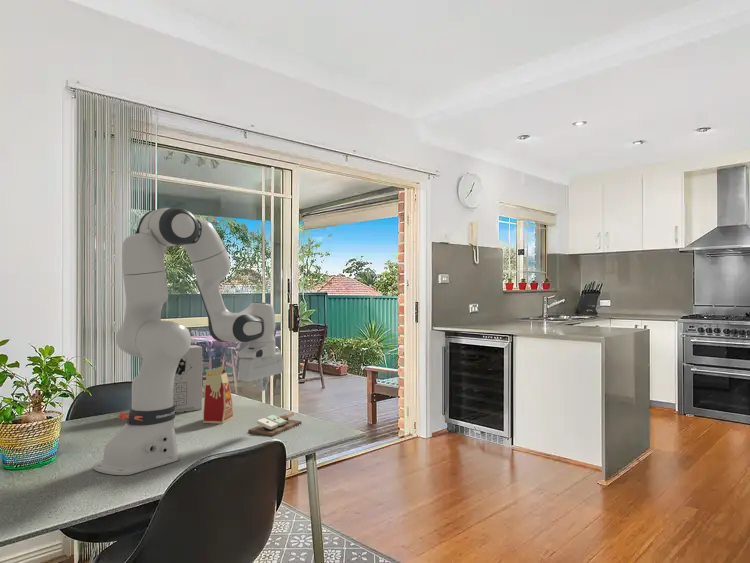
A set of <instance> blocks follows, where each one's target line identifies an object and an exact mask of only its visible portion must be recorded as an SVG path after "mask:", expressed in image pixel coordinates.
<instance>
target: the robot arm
mask: <svg viewBox="0 0 750 563" xmlns="http://www.w3.org/2000/svg"><path fill="white" fill-rule="evenodd" d="M175 246H181V247H182V248H183V249H184V251H185V252H186V254H187V256H188V259H189V261H190V262H191V265H192V267H193V271H194V273H195V276H196V284H197V289H198V291H199V295H200V297H201V301H202V303H203V306H204V309H205V312H206V315H207V320H208V321H207V324H208V331H209V334H210V336H211V337H212V339H213V340H215V341H216V342H219V343H226V342H227V343H228V342H230V343H239V344H240V343H243V344H244V343H248V345H246V346H245V347H244V348H242V349H241V350H240V351H239V352H238V357H239V358H240V359H239V363H238V379H239V380H240V382H245V383H249V382H253V381H254V383H255V384H256V386H257V392H264V391H268V384H269V382H270V377H272V376H275V375H279V374H282V373H283V371H284V361H283V360H284V359H283V355H282V351H281V348H279V347H278V346H276V336H275V331H276V314H275V309H274V306H273V305H272V304H270V303H268V302H260V301H253V302H251V303H250V304H249V306H247V307H246V308H245V309H242V310H241V311H238V312H231V311H229V310H228V309H227V307H226V305H225V302H224V299H223V296H222V293H221V290H220V285H221V282H222V281H223V280H224V279H225V278H226V277H227V276H228V275H229V272H230V270H231V268H232V267H231V266H232V265H231V261H230V256H229V254H228V251H227V249H226V247H225V245H224V242H223V241H222V239H221V237H220V235H219V233H218V231H217V230H216V229H215V226H213V224H212V223H211V222H210V221H208V220H205V219H198V218H197V217H195V215H194V214H193V213H192V212H191V211H189V210H187V209H185V208H182V207H161V208H157V209H153V210H150V211H148V212H146V213H145V214H144V215H143V216H142V217H141V218H140V220H139V222H138V225H137V228H136V231H135V233H134V234H130V235H129V236H127V237H126V238H125V239H124V241H123V242H122V248H121V249H122V251H121V267H122V276H123V284H124V292H125V293H124V294H125V313H124V316H123V317H124V318H123V323H122V324H121V326H120V328H119V329H118V331H117V333H116V344H117V346H118V348H119V349H120V350H121V351H122V352H124V353H125V354H128V355H129V356H132V357H136V358H141V357H143V362H142V366H141V369H140V368H139V372H138V374H137V375H136V376H135V377H134V378H133V379H132V381H131V407H130V409H129V412H123V411H121V412H119V414H118V416H117V417H118V419H119V420H123V421H125V424H124V425H123V426H122V428H121V429H119V431H118V432H116V434H115V435H113V437H112V438H111V439H110V440H109V441H108V442H107V443H106V444H105V447H104V451H103V458H102V459H103V460H100V461H97V462H95V463H94V464H93V469H94V470H95V471H97V472H99V473H103V474H106V475H107V474H108V475H115V476H129V475H130V476H131V475H134V474H137V473H140V472H143V471H147V470H151V469H154V468H158V467H160V466H164V465H167V464H170V463H174V462H177V461H179V459H180V458H179V455H180V450H179V448H178V443H177V437H176V429H175V421H174V420H175V418H176V413H175V405H174V404H173V398H174V378H175V373H176V370H177V367H178V364H179V362H180V360H181V358H182V357H183V356H184V355H185V354H186V353H187V352H188V350H189V348H190V346H192V345H191V344H192V337H191V332H190V330H189V329H188V328H187V327H186V326H184V325H182V324H180V323H178V322H174V321H172V320H171V321H170V320H162V318H161V316H162V309H163V306H164V304H165V303H166V302H167V300H168V298H169V290H168V282H167V280H168V279H167V272H166V265H165V261H164V258H165V252H166V250H167V247H175Z"/></svg>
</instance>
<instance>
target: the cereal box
mask: <svg viewBox="0 0 750 563" xmlns="http://www.w3.org/2000/svg"><path fill="white" fill-rule="evenodd" d="M139 358H140V362H139V363H140V364H139V365H140V368H139V370H140V369H141V366H142V362H143V357H139ZM173 404H174V405H175V412H179V413H184V411H187V412H192V411H201V410H202V409H203V346H199V345H194V344H193V345H190V348H189V350H188V352H187V353H186V354H185V355H184V356H183V357H182V358H181V360H180V362H179V364H178V367H177V370H176V373H175V378H174V398H173Z"/></svg>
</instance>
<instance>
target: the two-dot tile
mask: <svg viewBox="0 0 750 563" xmlns="http://www.w3.org/2000/svg"><path fill="white" fill-rule="evenodd" d="M265 418H266V419H268V420H270V421H273V422H275V423H277V424H278V426H281V425H283V424H285V423H286V422H287V420H284V419H282V418H280V417H278V416H277V415H274V414H271V415H268V416H265Z"/></svg>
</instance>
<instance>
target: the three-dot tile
mask: <svg viewBox="0 0 750 563" xmlns="http://www.w3.org/2000/svg"><path fill="white" fill-rule="evenodd" d="M294 416H295V413H294V412H291V413H286V414H283V415H278V416H277V417H280V418H282V419H285V418H288V419H289V418H291V417H294Z"/></svg>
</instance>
